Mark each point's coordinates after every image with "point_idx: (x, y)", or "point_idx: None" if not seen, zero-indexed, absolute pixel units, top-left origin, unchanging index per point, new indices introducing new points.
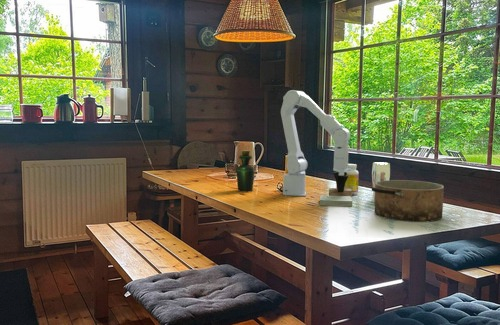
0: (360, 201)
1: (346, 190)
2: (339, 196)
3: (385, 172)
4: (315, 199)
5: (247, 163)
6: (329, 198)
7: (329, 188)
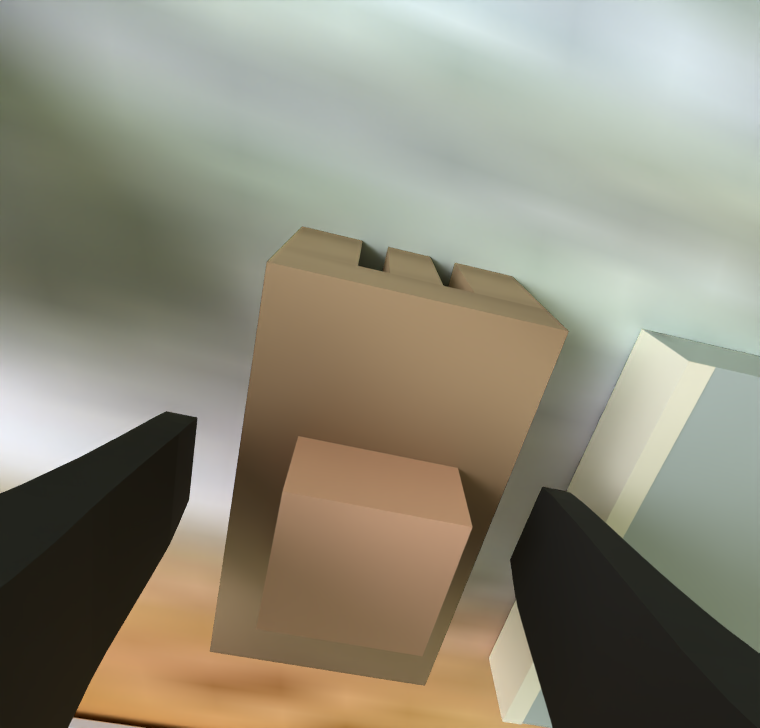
0: (669, 147)
1: (524, 435)
2: (631, 531)
3: None
4: None
5: None
6: None
7: (263, 652)
